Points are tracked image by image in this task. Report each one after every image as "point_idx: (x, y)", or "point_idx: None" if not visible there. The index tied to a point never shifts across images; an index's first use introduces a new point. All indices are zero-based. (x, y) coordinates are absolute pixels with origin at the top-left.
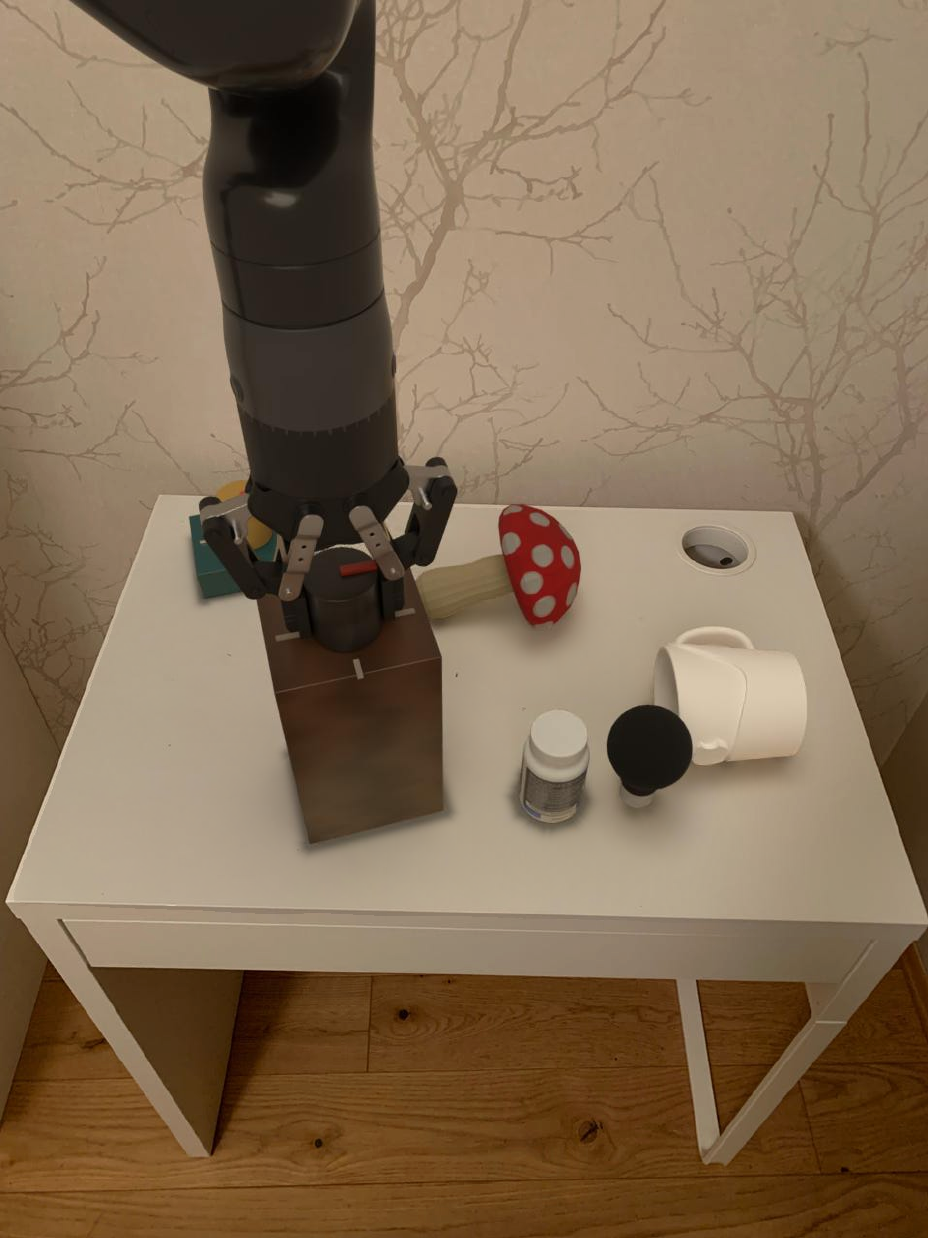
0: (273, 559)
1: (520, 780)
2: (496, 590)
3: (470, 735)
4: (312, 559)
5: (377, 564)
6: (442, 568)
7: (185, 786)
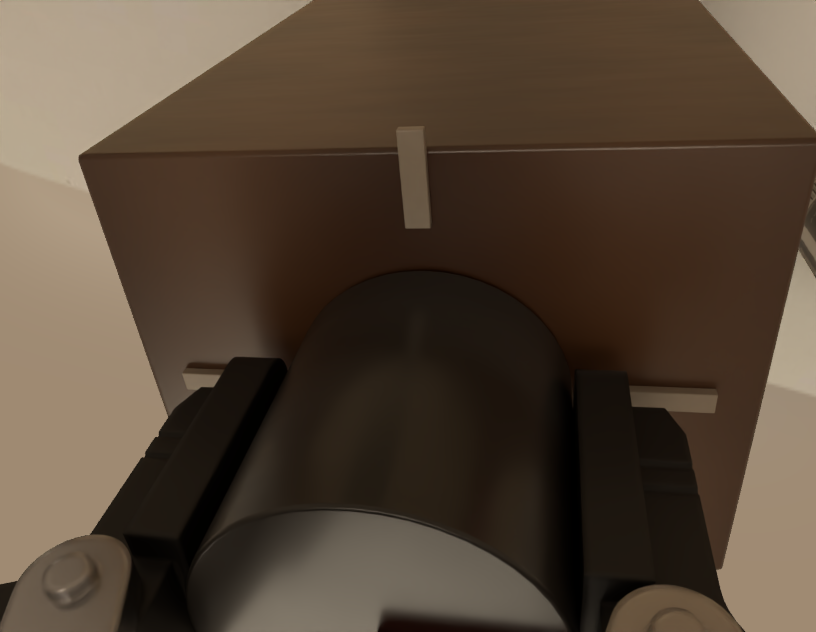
0: (1, 625)
1: (809, 215)
2: None
3: (768, 9)
4: (232, 548)
5: (591, 616)
6: None
7: (149, 3)
